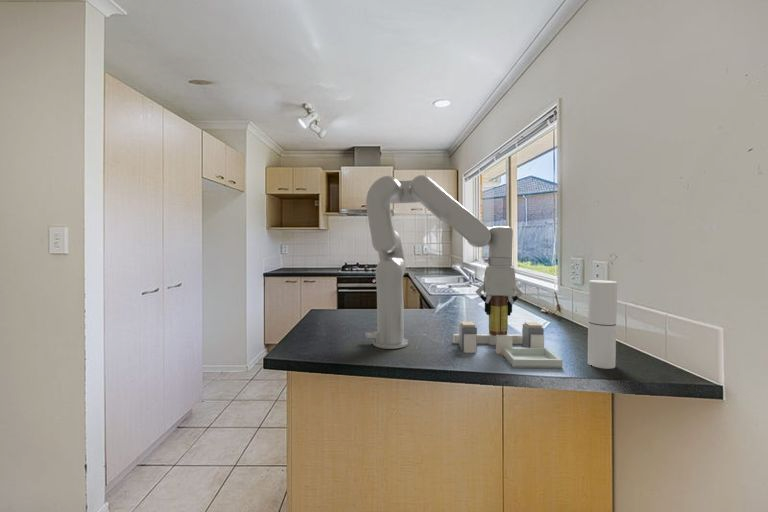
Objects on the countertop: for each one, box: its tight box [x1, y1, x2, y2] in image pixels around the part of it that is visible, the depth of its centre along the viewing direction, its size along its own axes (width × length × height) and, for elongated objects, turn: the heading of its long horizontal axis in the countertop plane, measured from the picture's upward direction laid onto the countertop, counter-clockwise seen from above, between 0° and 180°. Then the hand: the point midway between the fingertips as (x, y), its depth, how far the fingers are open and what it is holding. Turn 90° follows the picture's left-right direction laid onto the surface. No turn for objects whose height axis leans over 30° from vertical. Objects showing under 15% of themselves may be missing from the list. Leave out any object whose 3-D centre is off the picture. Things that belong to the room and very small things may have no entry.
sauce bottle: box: [488, 296, 509, 336], centre depth 125 cm, size 7×6×20 cm
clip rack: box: [452, 321, 545, 357], centre depth 125 cm, size 30×15×9 cm, turn 87°
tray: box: [502, 347, 563, 370], centre depth 112 cm, size 14×12×2 cm
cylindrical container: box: [587, 279, 618, 370], centre depth 108 cm, size 7×7×25 cm
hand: (498, 314), depth 125 cm, fingers closed on sauce bottle, 6 cm apart
